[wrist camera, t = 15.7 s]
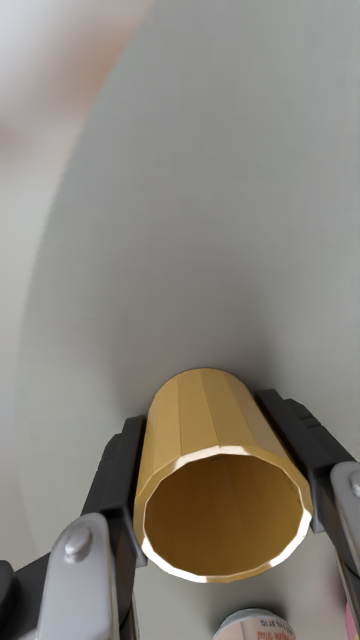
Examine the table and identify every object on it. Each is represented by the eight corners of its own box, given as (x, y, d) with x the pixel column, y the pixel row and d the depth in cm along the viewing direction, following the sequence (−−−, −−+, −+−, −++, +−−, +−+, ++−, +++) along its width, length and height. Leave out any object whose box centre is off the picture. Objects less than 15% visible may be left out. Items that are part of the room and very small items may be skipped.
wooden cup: (126, 411, 9) (94, 515, 5) (213, 345, 9) (246, 408, 5) (193, 477, 10) (206, 605, 6) (275, 422, 10) (344, 525, 6)
